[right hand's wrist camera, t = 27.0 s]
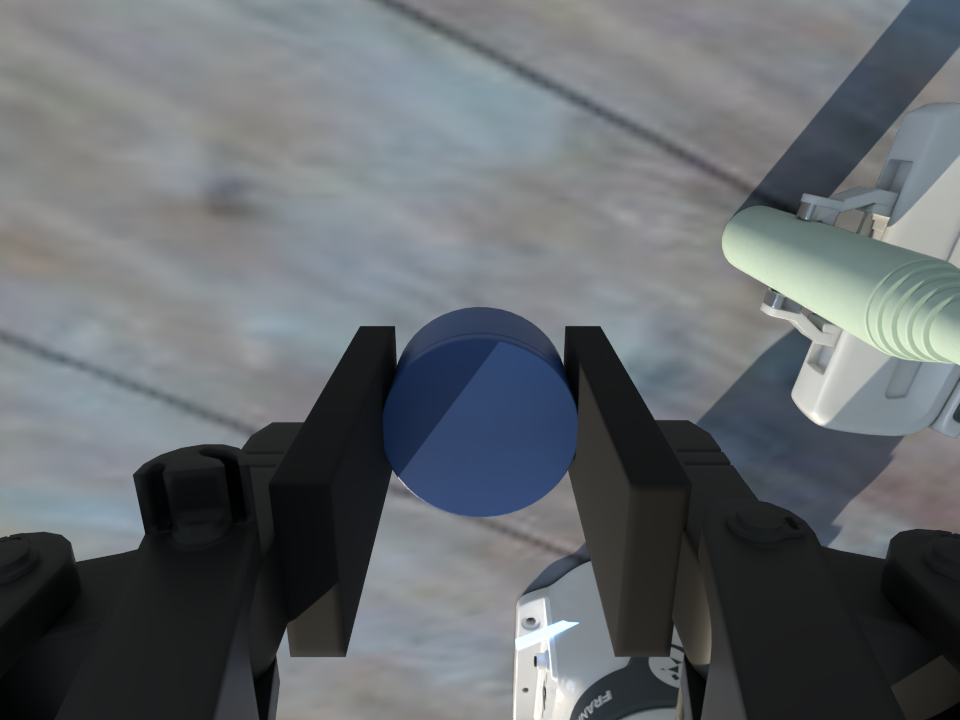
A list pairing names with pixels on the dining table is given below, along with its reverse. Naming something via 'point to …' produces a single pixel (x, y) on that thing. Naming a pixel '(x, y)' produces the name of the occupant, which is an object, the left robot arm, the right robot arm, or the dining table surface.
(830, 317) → the bottle
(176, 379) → the dining table surface
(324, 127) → the dining table surface
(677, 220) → the dining table surface
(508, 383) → the cap
